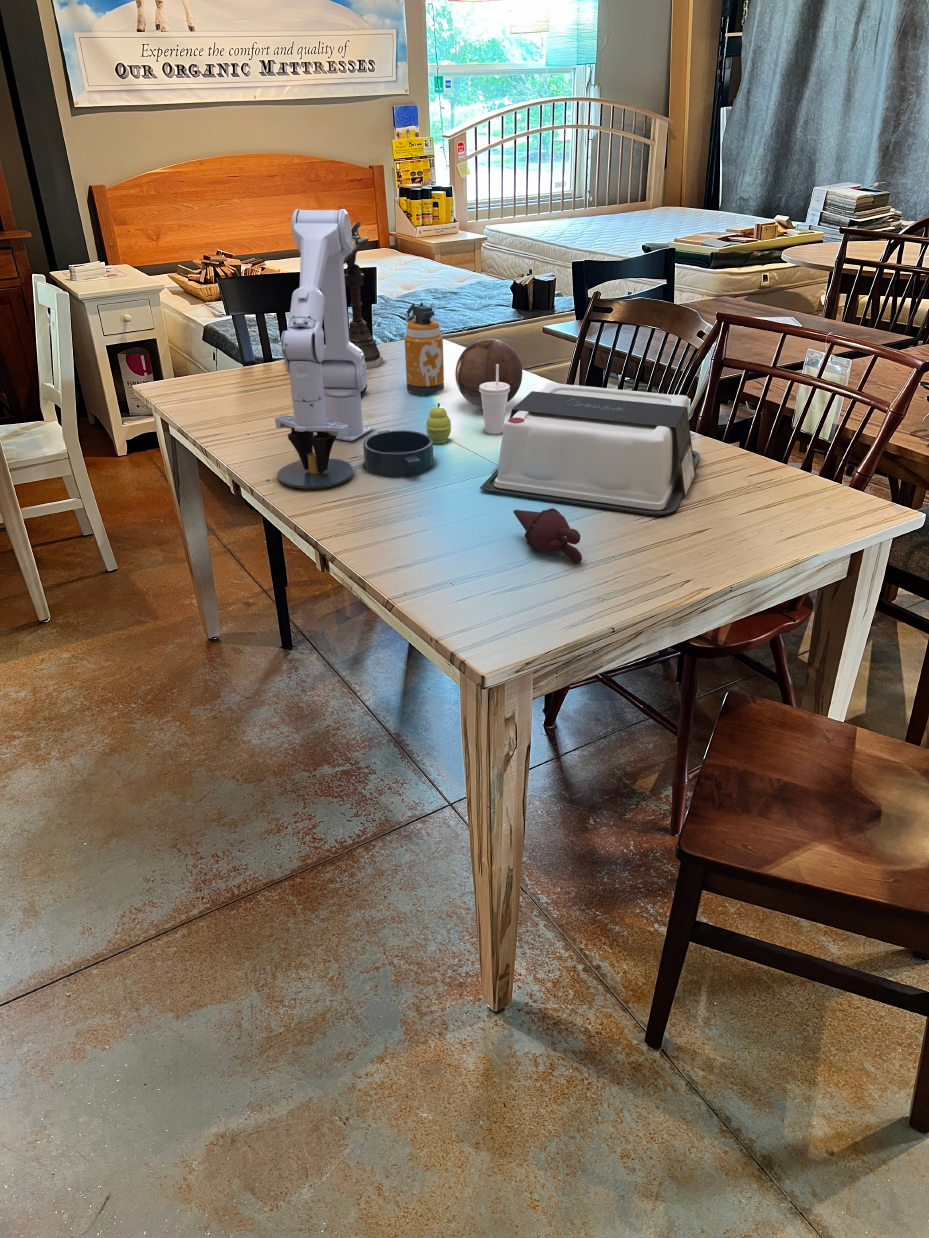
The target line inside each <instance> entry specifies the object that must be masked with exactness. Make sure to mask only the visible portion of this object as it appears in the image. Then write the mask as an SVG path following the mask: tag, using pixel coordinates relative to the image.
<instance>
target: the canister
mask: <svg viewBox="0 0 929 1238" xmlns="http://www.w3.org/2000/svg"><path fill="white" fill-rule="evenodd" d="M411 313H412V314H411ZM406 315H407V318H405V320H404V322H405V323H406V324H407V325H406V335H405V336H404V358H405V375H406V376H405V377H406V379H405V380H406V390H407V391H408V392H410V393H413V394H414V395H415V394H416V395H419V396H429V395H435V394H437V393H439V392H441V391H444V389H445V382H444V381H445V370H444V369H445V368H444V336H443V335H442V334H441V325H440V323H439V322H438V321H436V320H433V318H432V317H433V316H435V311H434V310H433V307H431V306H426V305H425V304H424V303H423V302H420V304H419V305H415V303H414V302H412V304H411V305H410V306H409V308H408V309H407V310H406Z"/></svg>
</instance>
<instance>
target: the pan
mask: <svg viewBox="0 0 929 1238" xmlns="http://www.w3.org/2000/svg"><path fill="white" fill-rule="evenodd" d="M362 443H363V444H362V446H363V447H362V449H363V459H364V460H363V462H364V467H365V469H366V470H367V471H368V472H369V473H371V474H374V475H377V476H381V477H389V478H403V477H412V476H416V475H419V474H423V473H425V472H427V471H429V470H430V469H431V468H432V467H433V466H434V443H433V440H432V438H431V437H430V436H428V434H427V433H424V432H419V431H414V430H404V429H403V430H390V429H387V430H379V431H377V433H375V434H372V435H370V436H368V437H366V438H365V439H364V441H363V442H362Z"/></svg>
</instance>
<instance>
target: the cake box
mask: <svg viewBox="0 0 929 1238" xmlns="http://www.w3.org/2000/svg"><path fill="white" fill-rule="evenodd" d="M689 402H690V401H689V396H687V395H685V394H684V395H683V394H666V393H658V392H648V391H638V390H627V389H619V388H618V389H617V388H607V387H597V386H589V385H588V386H586V385H575V384H567V383H558V382H547V383H546V384H545V387H544V388H542V389H541V390H539V391H536V390H532V391H530V392H529V393H527V395H526V396H524V398H522V399H521V400H520V401H519V402H518V403H517V404H516V405H514V407H512V408H511V411H510V415H509V418H508V419H507V420H506V421H504V427H503V432H502V436H501V442H500V443H501V444H500V450H499V459H498V465H497V469H496V471H494V472H493V473H492V474H491V476H489V477H488V478H487V479H486V480H485V482H484V483H482V485H481V486H480V487H479V489H480V490H483V491H489V492H493V493H497V494H501V495H508V496H515V497H522V498H530V499H536V500H543V501H544V500H545V501H550V502H557V503H564V504H571V505H578V506H586V507H592V508H599V509H607V510H614V511H619V512H620V511H622V512H629V513H633V514H634V513H635V514H640V515H641V514H642V515H649V516H664V515H668V514H672V513H673V512H674V511H676V510H677V509H678V506H679V505H680V502H681V500H682V499H686V498H685V497H686V496H687V493H688V492H689V489H690V487H691V484H692V482H693V480H694V478H695V476H696V466H697V465H698V462H699V461H700V458H701V454H700V453H699V452H698V451H695V450H694V449H693V445H692V444H693V443H692V435H691V428H690V419H689V415H690V414H689V410H690V409H689V408H690V407H689V406H690V405H689V404H690V403H689Z"/></svg>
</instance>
